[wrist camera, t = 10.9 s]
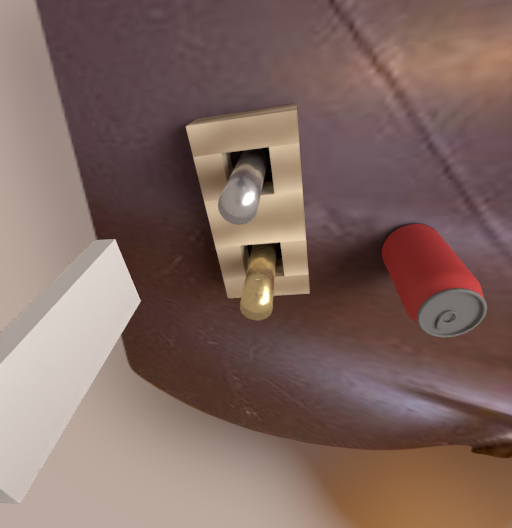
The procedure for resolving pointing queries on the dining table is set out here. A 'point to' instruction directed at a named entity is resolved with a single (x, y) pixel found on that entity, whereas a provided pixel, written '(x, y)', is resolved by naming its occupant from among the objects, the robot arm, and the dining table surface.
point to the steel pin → (243, 188)
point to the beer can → (433, 282)
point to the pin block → (271, 199)
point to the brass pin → (259, 282)
